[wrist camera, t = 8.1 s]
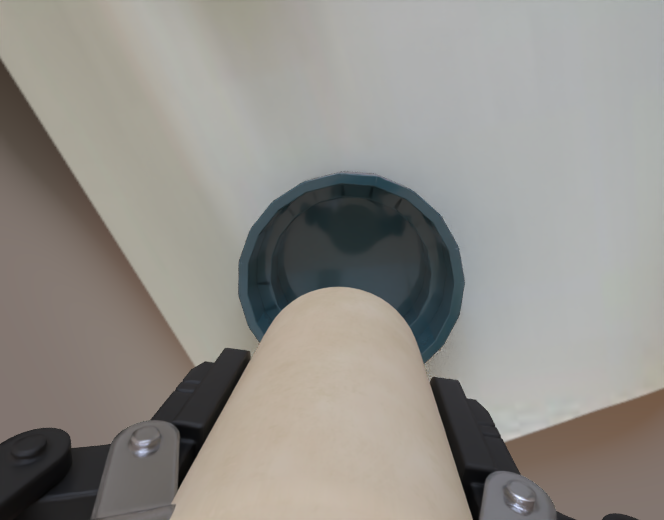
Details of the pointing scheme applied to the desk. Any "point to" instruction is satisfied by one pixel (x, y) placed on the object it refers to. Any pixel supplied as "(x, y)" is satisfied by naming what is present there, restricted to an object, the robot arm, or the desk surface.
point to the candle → (328, 424)
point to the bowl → (354, 253)
